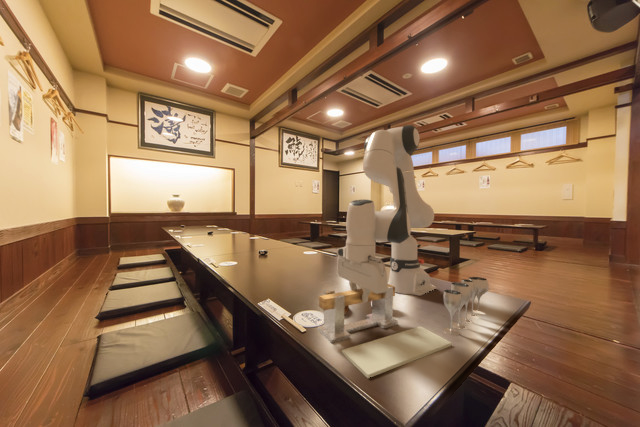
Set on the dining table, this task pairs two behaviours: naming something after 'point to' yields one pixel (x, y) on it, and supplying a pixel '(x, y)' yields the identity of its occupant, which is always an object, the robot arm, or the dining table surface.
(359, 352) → the mat
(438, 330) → the dining table surface
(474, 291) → the goblet set
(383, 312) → the rack
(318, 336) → the dining table surface
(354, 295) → the bar
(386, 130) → the robot arm
